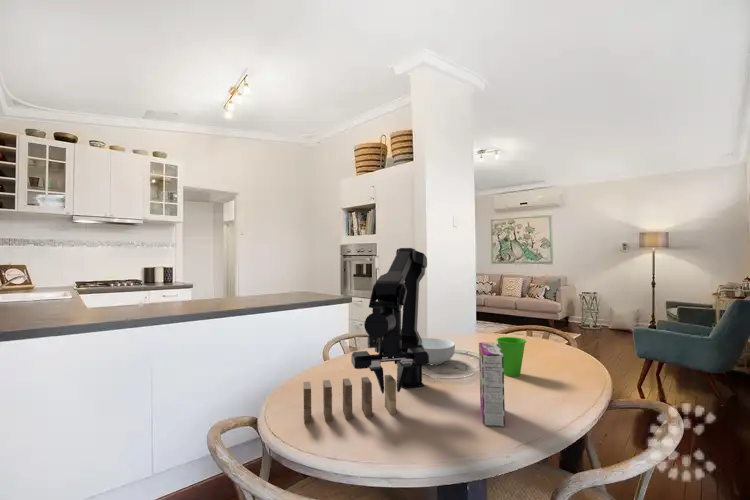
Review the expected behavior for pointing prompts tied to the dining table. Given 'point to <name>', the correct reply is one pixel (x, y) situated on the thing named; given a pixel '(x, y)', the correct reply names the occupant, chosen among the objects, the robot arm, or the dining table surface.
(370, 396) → the domino
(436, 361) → the cereal bowl
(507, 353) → the cup
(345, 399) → the domino
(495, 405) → the candy bar box
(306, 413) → the domino
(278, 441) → the dining table surface
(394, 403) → the domino
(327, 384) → the domino
